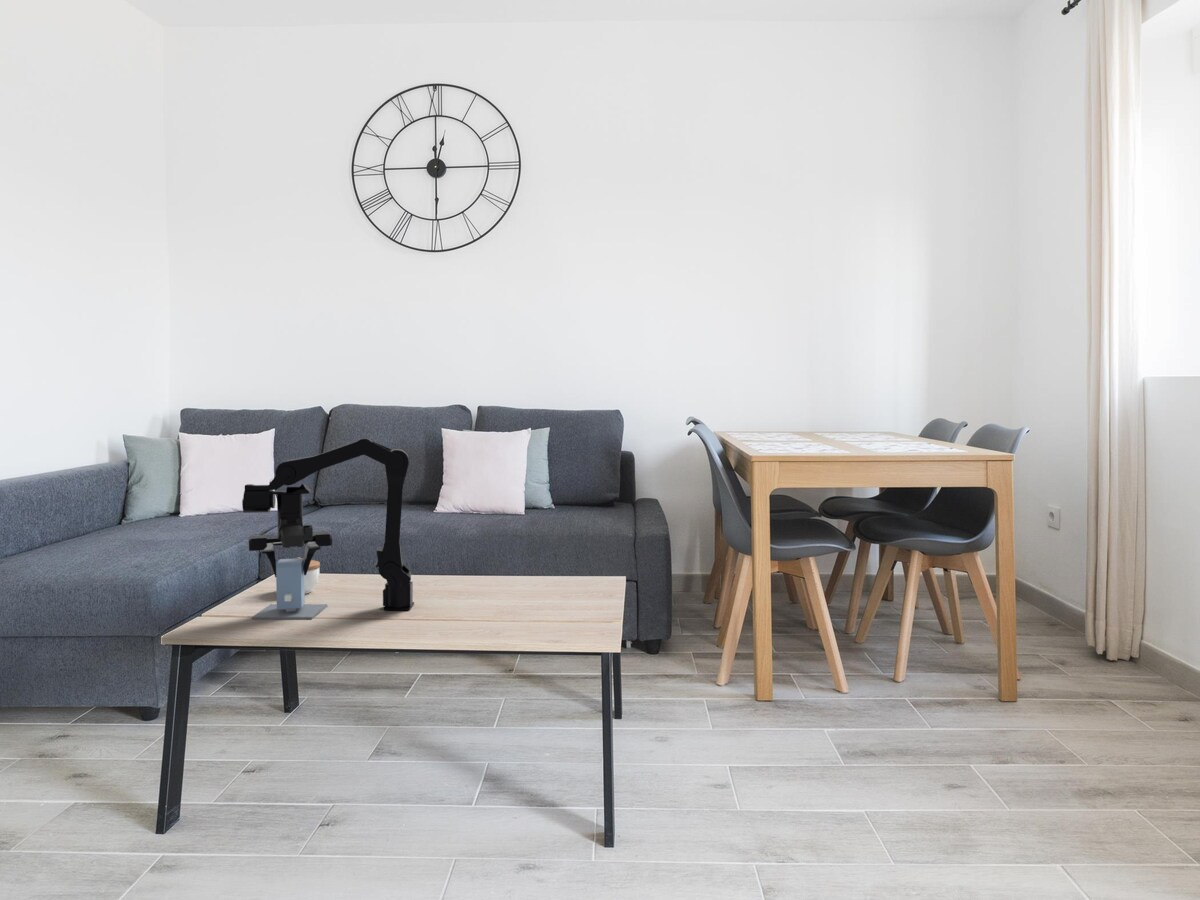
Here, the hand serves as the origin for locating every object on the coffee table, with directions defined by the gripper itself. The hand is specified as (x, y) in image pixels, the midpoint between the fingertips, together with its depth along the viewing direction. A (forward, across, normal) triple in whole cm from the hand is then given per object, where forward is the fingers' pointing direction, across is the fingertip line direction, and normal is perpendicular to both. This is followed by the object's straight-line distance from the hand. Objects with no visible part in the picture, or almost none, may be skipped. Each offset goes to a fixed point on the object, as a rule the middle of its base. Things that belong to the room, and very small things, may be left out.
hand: (290, 576), depth 194 cm
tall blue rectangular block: (+7, 0, 0) cm, 7 cm away
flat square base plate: (+9, 0, 0) cm, 9 cm away
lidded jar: (+9, +4, +21) cm, 23 cm away
